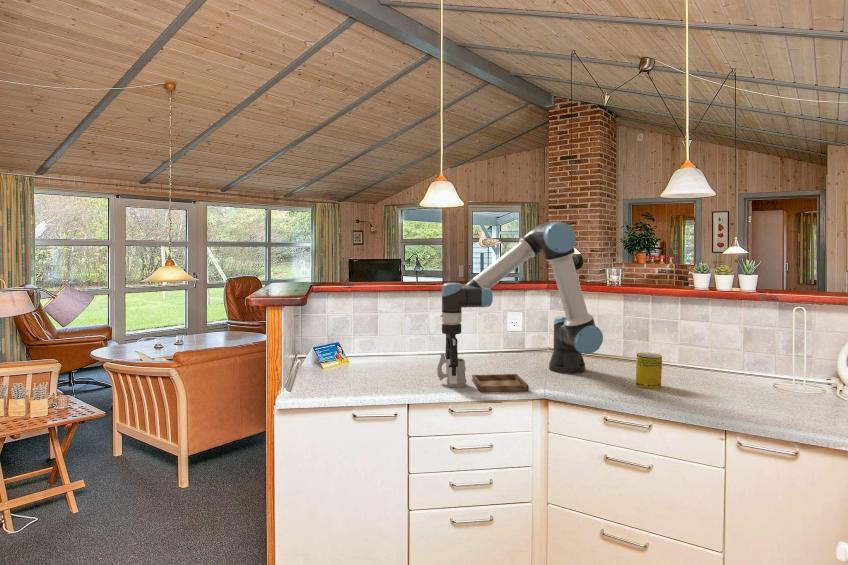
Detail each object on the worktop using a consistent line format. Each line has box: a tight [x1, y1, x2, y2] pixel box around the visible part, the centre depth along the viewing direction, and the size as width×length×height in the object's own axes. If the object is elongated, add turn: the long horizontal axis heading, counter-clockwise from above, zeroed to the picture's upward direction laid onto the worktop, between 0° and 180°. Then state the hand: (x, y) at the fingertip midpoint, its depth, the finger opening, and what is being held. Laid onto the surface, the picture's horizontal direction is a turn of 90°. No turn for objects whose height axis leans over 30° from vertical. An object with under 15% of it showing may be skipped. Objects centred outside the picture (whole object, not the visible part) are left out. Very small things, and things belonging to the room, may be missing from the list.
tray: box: [471, 373, 530, 394], centre depth 212 cm, size 18×17×2 cm
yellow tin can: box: [635, 352, 663, 390], centre depth 212 cm, size 9×9×12 cm
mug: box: [436, 352, 467, 388], centre depth 214 cm, size 8×12×12 cm, turn 67°
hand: (451, 380), depth 214 cm, fingers open, 10 cm apart
